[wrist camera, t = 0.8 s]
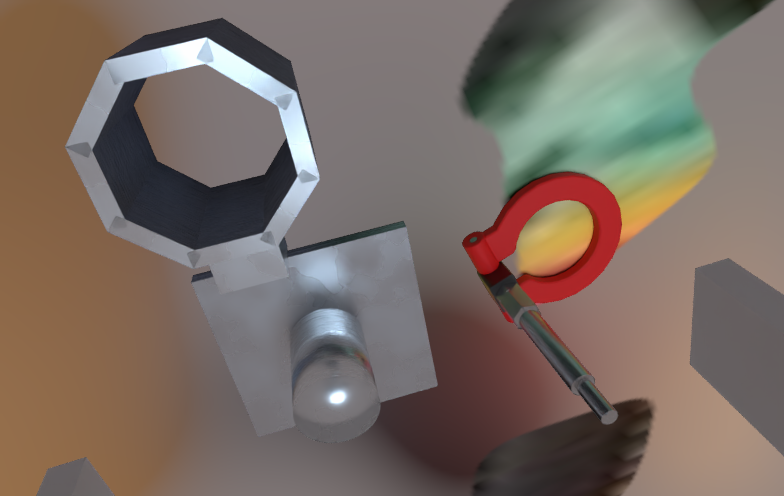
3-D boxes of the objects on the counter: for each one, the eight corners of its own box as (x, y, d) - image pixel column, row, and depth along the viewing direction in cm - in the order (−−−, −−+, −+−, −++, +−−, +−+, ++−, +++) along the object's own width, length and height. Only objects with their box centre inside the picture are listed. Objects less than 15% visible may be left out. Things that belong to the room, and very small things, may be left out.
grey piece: (89, 47, 25) (29, 77, 19) (275, 5, 25) (277, 21, 19) (180, 256, 30) (157, 332, 24) (332, 217, 31) (347, 281, 25)
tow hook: (586, 141, 32) (450, 228, 32) (771, 234, 21) (559, 365, 21) (627, 247, 36) (505, 323, 37) (800, 372, 25) (622, 480, 25)
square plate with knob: (192, 275, 31) (174, 351, 25) (403, 220, 32) (433, 281, 26) (258, 427, 36) (256, 518, 31) (434, 378, 37) (465, 457, 32)
